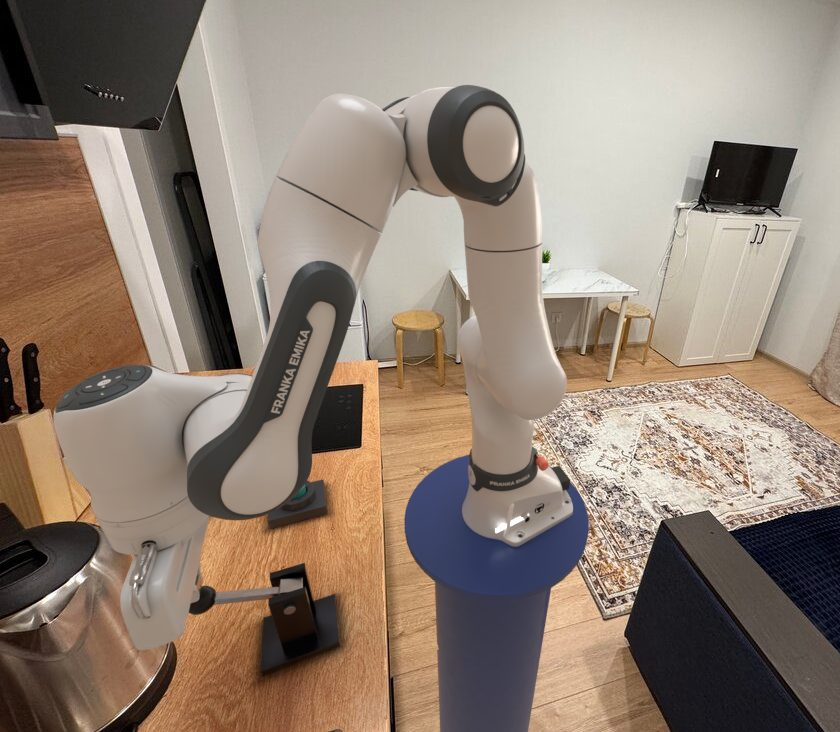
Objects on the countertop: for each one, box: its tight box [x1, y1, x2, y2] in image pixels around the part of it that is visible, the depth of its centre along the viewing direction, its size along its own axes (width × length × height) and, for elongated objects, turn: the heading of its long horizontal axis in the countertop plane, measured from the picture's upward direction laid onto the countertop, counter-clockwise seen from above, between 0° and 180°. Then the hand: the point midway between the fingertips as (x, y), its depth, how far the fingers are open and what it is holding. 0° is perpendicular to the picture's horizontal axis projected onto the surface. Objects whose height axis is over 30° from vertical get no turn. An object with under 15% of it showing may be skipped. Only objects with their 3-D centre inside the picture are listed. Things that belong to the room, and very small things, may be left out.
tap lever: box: [188, 578, 303, 616], centre depth 55 cm, size 13×3×3 cm, turn 116°
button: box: [291, 485, 306, 500], centre depth 81 cm, size 4×4×2 cm
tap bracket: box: [259, 562, 341, 677], centre depth 59 cm, size 10×8×12 cm
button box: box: [267, 478, 329, 530], centre depth 82 cm, size 10×8×4 cm
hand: (193, 592), depth 51 cm, fingers closed
